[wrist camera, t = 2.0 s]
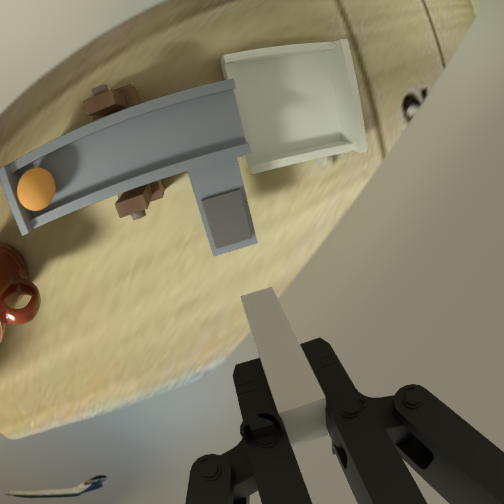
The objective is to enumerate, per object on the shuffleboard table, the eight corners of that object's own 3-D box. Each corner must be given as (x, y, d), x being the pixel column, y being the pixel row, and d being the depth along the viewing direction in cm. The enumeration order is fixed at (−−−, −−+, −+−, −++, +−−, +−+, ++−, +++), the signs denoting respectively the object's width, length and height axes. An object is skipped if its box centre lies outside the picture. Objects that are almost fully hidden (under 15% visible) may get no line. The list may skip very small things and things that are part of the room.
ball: (36, 209, 21) (19, 222, 18) (23, 173, 20) (4, 182, 17) (67, 195, 22) (51, 207, 19) (54, 157, 20) (36, 165, 17)
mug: (-9, 294, 29) (-43, 341, 20) (-22, 233, 26) (-67, 272, 17) (63, 303, 32) (38, 360, 23) (55, 237, 29) (16, 284, 20)
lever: (71, 295, 26) (62, 313, 24) (13, 163, 20) (-3, 170, 17) (265, 235, 28) (274, 249, 25) (229, 81, 22) (235, 76, 19)
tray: (246, 169, 31) (256, 177, 27) (219, 60, 25) (225, 51, 21) (346, 145, 32) (367, 151, 28) (327, 46, 26) (347, 38, 22)
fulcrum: (68, 226, 29) (43, 257, 22) (35, 129, 23) (-1, 136, 17) (165, 191, 30) (160, 214, 23) (134, 85, 25) (119, 76, 18)
